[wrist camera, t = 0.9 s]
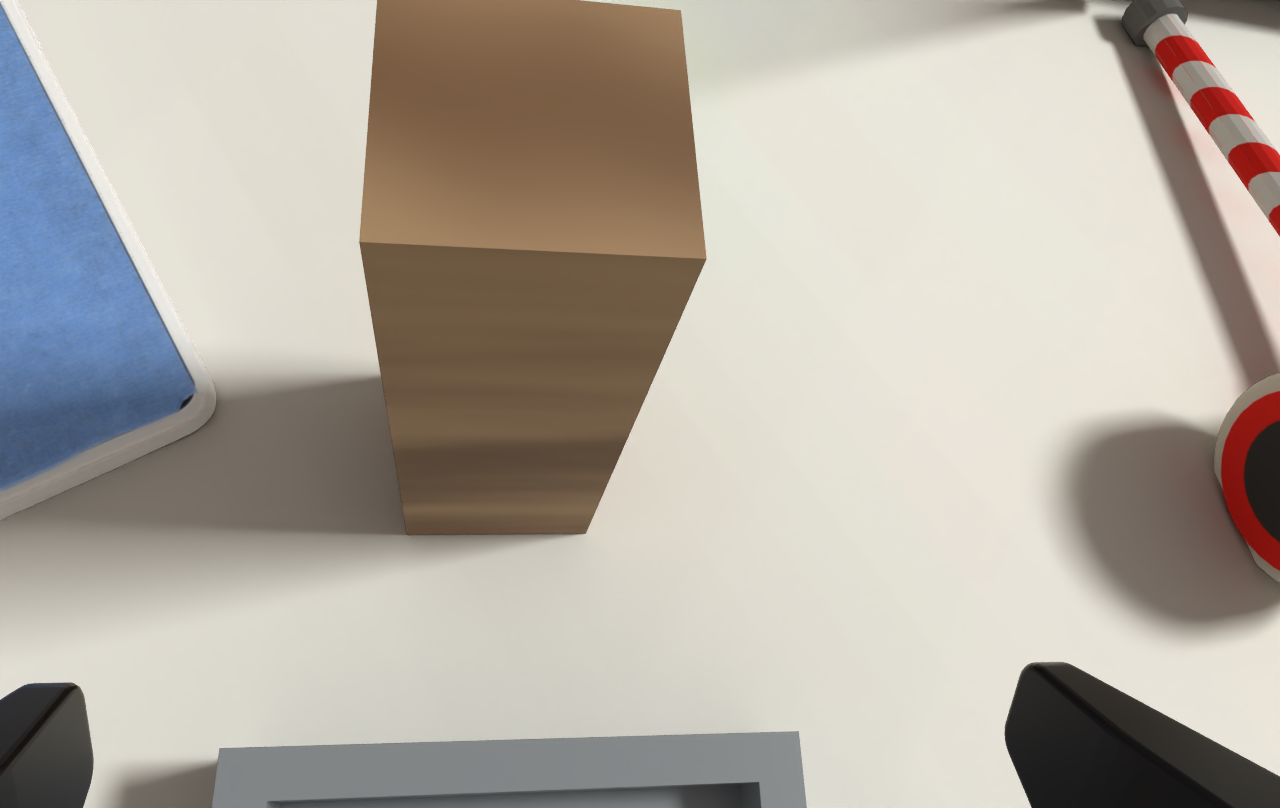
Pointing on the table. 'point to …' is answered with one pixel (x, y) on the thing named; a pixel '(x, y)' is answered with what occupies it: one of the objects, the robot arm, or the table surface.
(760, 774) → the tray
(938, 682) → the table surface
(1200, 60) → the toy hammer
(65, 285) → the tablet computer
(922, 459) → the table surface
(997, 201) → the table surface
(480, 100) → the walnut block
